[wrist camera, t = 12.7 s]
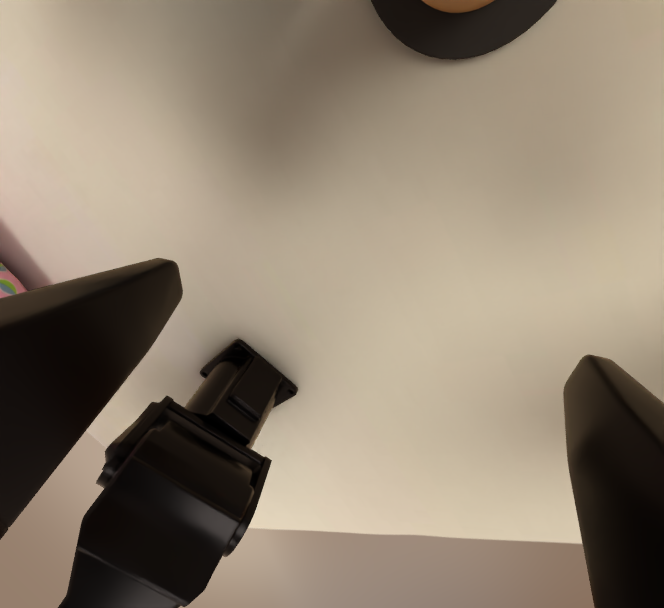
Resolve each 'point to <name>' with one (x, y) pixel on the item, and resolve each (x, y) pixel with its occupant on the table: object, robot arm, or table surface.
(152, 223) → the table surface
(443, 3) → the paper roll
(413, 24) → the coaster
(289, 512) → the table surface
